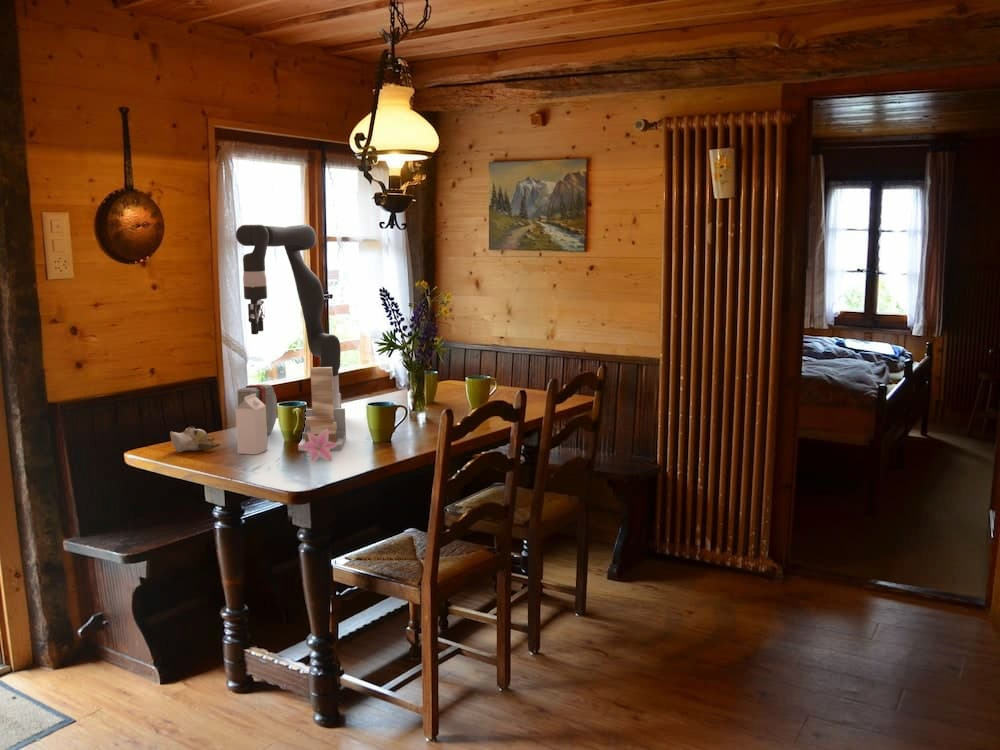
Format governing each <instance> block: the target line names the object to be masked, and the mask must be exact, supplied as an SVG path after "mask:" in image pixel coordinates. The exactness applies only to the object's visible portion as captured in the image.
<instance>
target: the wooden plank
mask: <svg viewBox="0 0 1000 750" xmlns="http://www.w3.org/2000/svg"><path fill="white" fill-rule="evenodd" d="M310 385H311V386H310V388H311V389H310V390H311V391H310V392H311V409H312V417H314V416H333V421H334V400H333V372H332V367H318V366H317V367H316V366H315V367H312V366H311V367H310Z"/></svg>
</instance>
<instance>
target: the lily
mask: <svg viewBox="0 0 1000 750" xmlns="http://www.w3.org/2000/svg"><path fill="white" fill-rule="evenodd" d="M328 437H329V433H328V429H325V430H323V431H322V432H321V433H320V434H319V435H318V436H315V435H313V434H311V433H308V438H309V442H306V443H304V444H302V445H301V446H299V449H301V450H305V451H304V452H309V453H310V462H311V463H314V462H315V460H317V459H318V458H319V457H320V458H323V459H324V460H327V461H329V462H332V461H333V458H332V454H331V453H332V452H331V450H329V449H331V448H333V447H335V446H337V444H336V443H333V442H329V441H328Z"/></svg>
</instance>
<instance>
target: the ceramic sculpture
mask: <svg viewBox="0 0 1000 750" xmlns="http://www.w3.org/2000/svg"><path fill="white" fill-rule="evenodd" d="M169 435H170V441H171V444H172V445H173V448H174V449H175V451H176V452H177V453H179V452H180V454H181V453H182V452H184V451H187V450H188V451H193V452H197V451H198V450H199V451H202V450H206V451H207V450H212V449H215V448H217V447H219V446H221V444H220V443H215V442H214V440H215V438H212V437H211V438H209V437H208V433H207V432H206V431H205V430H204V429H201V428H195V426H194V425H191V426H188V427H187V428H185V430H184V431H182V432H176V431H170V432H169Z"/></svg>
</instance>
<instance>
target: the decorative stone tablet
mask: <svg viewBox="0 0 1000 750" xmlns="http://www.w3.org/2000/svg"><path fill="white" fill-rule="evenodd" d="M236 393H237V395H236V396H237V407H238V406H239V405H240V404H241V403H242V402H243V401H244V397H246V396H249V395H252V394H255V393H256V397H257V398H258V399H259V400H260V401H261V402H262V403H263V404H264V405H265V406H266V422H267V436H268V435H270V433H271V432H272V431H273V430H274V427H275V424H276V421H277V415H278V412H277V411H278V404H277V395H276V393H275V390H274V388H273V386H272V385H270V384H249V385H246V386H245V387H243V388H239V389H237V391H236Z"/></svg>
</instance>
